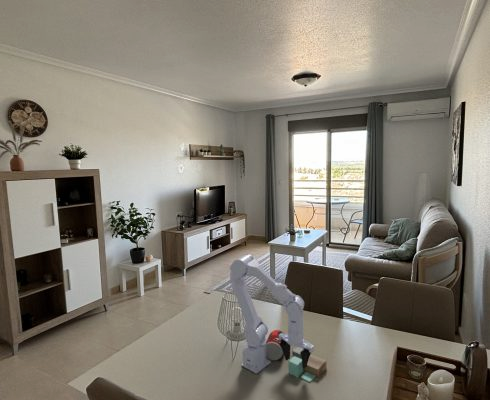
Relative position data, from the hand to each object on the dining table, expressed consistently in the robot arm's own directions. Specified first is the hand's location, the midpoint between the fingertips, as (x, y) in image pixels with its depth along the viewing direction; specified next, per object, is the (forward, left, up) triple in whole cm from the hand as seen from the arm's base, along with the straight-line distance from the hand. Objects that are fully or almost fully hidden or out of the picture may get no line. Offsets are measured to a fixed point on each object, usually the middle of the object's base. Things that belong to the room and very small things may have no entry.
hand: (296, 363), depth 121 cm
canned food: (+11, +16, 0) cm, 19 cm away
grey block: (+6, +3, -4) cm, 8 cm away
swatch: (0, -5, -4) cm, 6 cm away
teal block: (0, 0, -4) cm, 4 cm away
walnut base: (+6, -4, -4) cm, 9 cm away
